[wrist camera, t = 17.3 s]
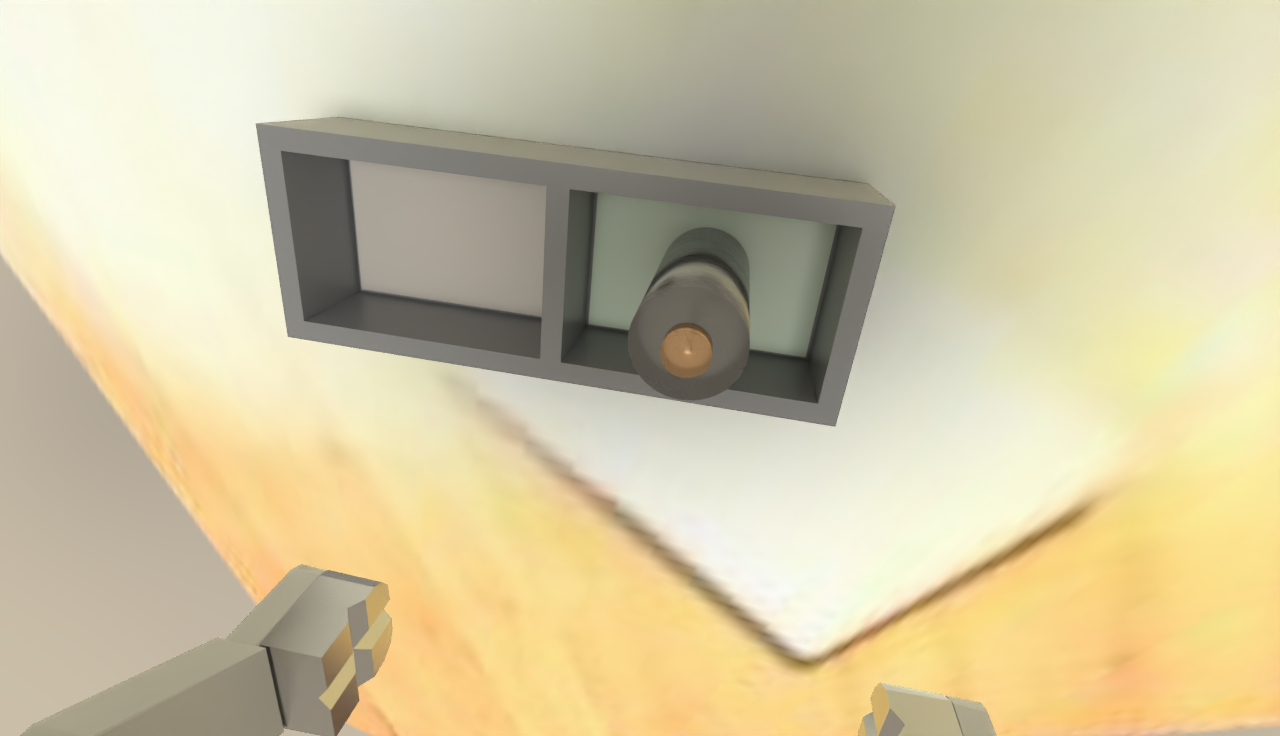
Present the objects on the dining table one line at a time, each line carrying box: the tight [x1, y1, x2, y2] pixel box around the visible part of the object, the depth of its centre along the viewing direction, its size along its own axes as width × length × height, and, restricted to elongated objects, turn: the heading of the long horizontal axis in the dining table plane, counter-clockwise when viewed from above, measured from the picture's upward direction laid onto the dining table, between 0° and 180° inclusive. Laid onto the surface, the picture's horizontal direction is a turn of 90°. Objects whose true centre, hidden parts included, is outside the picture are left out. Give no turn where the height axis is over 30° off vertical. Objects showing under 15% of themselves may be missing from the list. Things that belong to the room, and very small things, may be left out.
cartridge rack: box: [256, 117, 895, 426], centre depth 30 cm, size 10×27×6 cm, turn 84°
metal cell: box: [628, 227, 750, 400], centre depth 27 cm, size 4×4×11 cm
